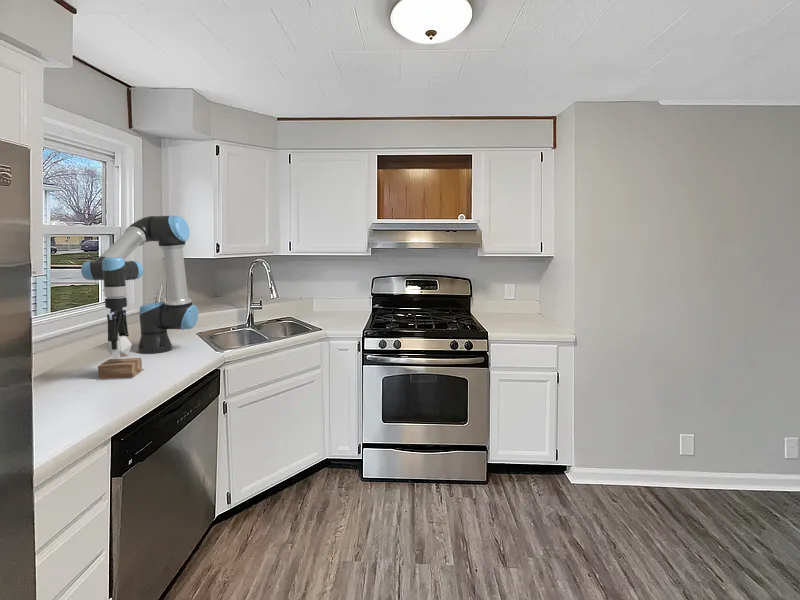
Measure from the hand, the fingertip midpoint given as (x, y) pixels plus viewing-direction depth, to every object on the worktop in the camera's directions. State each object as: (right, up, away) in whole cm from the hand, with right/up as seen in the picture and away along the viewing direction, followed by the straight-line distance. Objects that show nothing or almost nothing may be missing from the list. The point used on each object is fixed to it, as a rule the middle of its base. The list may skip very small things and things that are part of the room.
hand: (119, 355), depth 214 cm
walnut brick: (0, -8, +1) cm, 8 cm away
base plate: (0, -9, +1) cm, 9 cm away
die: (0, -1, 0) cm, 1 cm away
